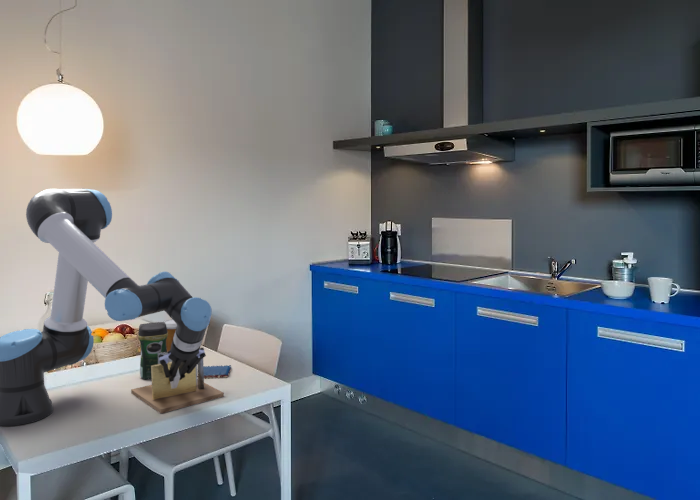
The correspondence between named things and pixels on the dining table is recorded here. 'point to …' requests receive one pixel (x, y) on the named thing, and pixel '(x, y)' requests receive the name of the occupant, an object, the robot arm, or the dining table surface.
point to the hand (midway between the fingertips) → (173, 384)
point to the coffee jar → (151, 345)
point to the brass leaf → (163, 386)
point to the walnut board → (176, 398)
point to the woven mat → (216, 371)
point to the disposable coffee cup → (170, 332)
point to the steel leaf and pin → (200, 371)
